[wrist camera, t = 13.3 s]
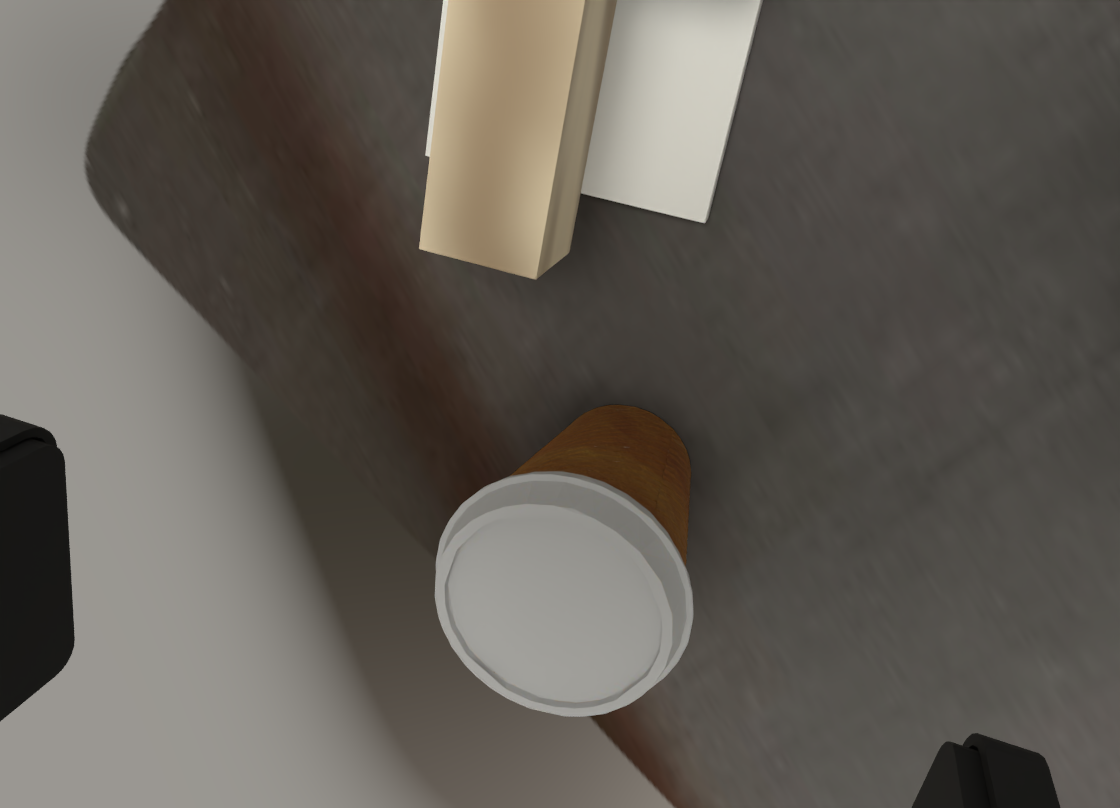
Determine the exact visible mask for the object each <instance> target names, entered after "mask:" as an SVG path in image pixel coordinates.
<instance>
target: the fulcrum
mask: <svg viewBox="0 0 1120 808" xmlns="http://www.w3.org/2000/svg"><path fill="white" fill-rule="evenodd" d="M762 2H763V0H617V4H616V9H615V14H614V20H613V25H612V30H611V35H610V41H609V46H608V51H607V57H606V62H605V67H604V72H603V78H602V83H601V88H600V93H599V99H598V104H597V109H596V115H595V120H594V125H593V130H592V136H591V141H590V146H589V151H588V157H587V162H586V167H585V173H584V178H583V183H582V188H581V193H582V194H586V195H590V196H594V197H598V198H602V199H606V200H611V201H615V202H619V203H623V204H627V205H631V206H635V207H639V208H644V209H648V210H652V211H656V212H660V213H664V214H668V215H672V216H677V217H681V218H685V219H689V220H693V221H697V222H701V223H705V222H706V221H707V219H708V217H709V213H710V209H711V205H712V201H713V197H714V193H715V189H716V185H717V181H718V177H719V173H720V169H721V165H722V161H723V157H724V153H725V149H726V145H727V141H728V137H729V133H730V129H731V125H732V121H733V117H734V113H735V109H736V105H737V101H738V97H739V93H740V89H741V85H742V81H743V77H744V73H745V69H746V65H747V61H748V57H749V53H750V49H751V46H752V42H753V38H754V34H755V30H756V26H757V22H758V18H759V14H760V10H761V6H762ZM447 7H448V0H443V8H442V17H441V26H440V34H439V43H438V51H437V60H436V69H435V77H434V86H433V95H432V103H431V112H430V120H429V129H428V138H427V146H426V155H425V156H429V157H430V151H431V143H432V134H433V126H434V118H435V109H436V101H437V92H438V84H439V75H440V67H441V58H442V50H443V41H444V33H445V24H446V16H447Z"/></svg>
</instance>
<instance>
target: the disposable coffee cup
mask: <svg viewBox="0 0 1120 808" xmlns="http://www.w3.org/2000/svg"><path fill="white" fill-rule="evenodd" d="M690 480H691V467H690V460H689V456H688V453H687V450H686V448H685V446H684V444H683V443H682V441H681V439H680V437H679V436H678V435H677V434H676V432H675V431H674V429H672V428H671V427H670V426H669V425H668V424H666V423H665V422H664V421H663V420H662V419H660V418H659V417H657V416H656V415H654V414H652V413H650V412H648V411H645V410H643V409H640V408H637V407H632V406H624V405H607V406H603V407H598V408H595V409H593V410H590V411H588V412H586V413H584V414H583V415H581V416H580V417H579V418H577V419H576V420H575V421H574V422H573V423H572V424H571V425H569V426H568V427H567V428H566V429H565V430H563V431H562V432H561V433H560V434H559V435H558V436H556V437H555V438H554V439H553V440H552V441H551V442H549V443H548V444H547V445H546V446H544V447H543V448H542V449H541V450H540V451H539V452H537V453H536V454H535V455H534V456H533V457H531V459H529V460H528V461H527V462H526V463H524V464H523V465H522V466H521V467H520V468H519V469H517V470H516V471H515V472H514V473H513V474H511V476H509V477H507V478H504V479H502V480H499V481H497V482H495V483H492V484H490V485H487V486H485V487H484V488H482V489H481V490H480V491H478V492H477V493H476V494H474V495H473V496H472V497H470V498H469V499H468V500H466V501H465V502H464V503H463V504H462V505H461V506H460V507H459V509H458V510H457V511H456V512H455V514H454V515H453V516H452V517H451V519H450V520H449V522H448V524H447V526H446V528H445V530H444V532H443V535H442V537H441V539H440V543H439V548H438V554H437V559H436V583H435V600H436V606H437V612H438V616H439V620H440V622H441V625H442V628H443V630H444V632H445V634H446V636H447V638H448V640H449V642H450V644H451V646H452V648H453V649H454V651H455V652H456V653H457V655H458V656H459V657H460V659H461V660H462V661H463V663H464V664H465V665H466V666H467V667H468V668H469V669H470V670H471V671H472V672H473V673H474V674H475V675H476V676H477V677H478V678H479V679H480V680H482V681H483V682H484V683H485V684H486V685H488V686H489V687H490V688H491V689H493V690H495V691H496V692H498V693H499V694H501V695H502V696H504V697H506V698H507V699H509V700H512V701H514V702H516V703H518V704H521V705H523V706H525V707H527V708H530V709H534V710H539V711H543V712H547V713H552V714H557V715H562V716H592V715H599V714H605V713H608V712H611V711H613V710H616V709H618V708H621V707H624V706H626V705H629V704H630V703H632V702H633V701H635V700H636V699H638V698H639V697H641V696H642V695H643V694H644V693H646V692H647V691H648V690H649V689H650V688H651V687H653V686H654V685H655V684H657V683H658V682H659V681H661V680H662V679H663V678H665V677H666V675H667V674H668V673H669V672H670V671H671V670H672V668H673V667H674V666H675V665H676V664H677V662H678V661H679V659H680V657H681V655H682V653H683V651H684V650H685V648H686V646H687V644H688V641H689V636H690V631H691V626H692V621H693V616H694V614H693V592H692V588H691V583H690V578H689V574H688V571H687V569H686V554H687V537H688V534H687V533H688V516H689V496H690Z"/></svg>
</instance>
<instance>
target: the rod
mask: <svg viewBox="0 0 1120 808" xmlns="http://www.w3.org/2000/svg"><path fill="white" fill-rule="evenodd" d="M616 4H617V0H448V7H447V16H446V24H445V33H444V41H443V50H442V58H441V67H440V75H439V84H438V92H437V101H436V109H435V118H434V126H433V134H432V143H431V151H430V160H429V168H428V177H427V185H426V194H425V202H424V211H423V219H422V228H421V236H420V245H419V249H421V250H425V251H429V252H433V253H437V254H440V255H444V256H448V257H452V258H456V259H459V260H463V261H467V262H471V263H475V264H478V265H482V266H486V267H490V268H494V269H497V270H501V271H505V272H509V273H513V274H516V275H520V276H524V277H528V278H532V279H537V278H539V277H540V276H541V275H542V274H543V273H545V272H546V271H547V270H548V269H550V268H551V267H552V266H553V265H555V264H556V263H557V262H558V261H560V260H561V259H562V258H563V257H564V256H566V255H567V254H568V253H569V252H570V246H571V241H572V236H573V231H574V225H575V220H576V215H577V210H578V204H579V199H580V194H581V188H582V183H583V178H584V173H585V167H586V162H587V157H588V151H589V146H590V141H591V136H592V130H593V125H594V120H595V115H596V109H597V104H598V99H599V93H600V88H601V83H602V78H603V72H604V67H605V62H606V57H607V51H608V46H609V41H610V35H611V30H612V25H613V20H614V14H615V9H616Z"/></svg>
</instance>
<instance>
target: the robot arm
mask: <svg viewBox="0 0 1120 808" xmlns="http://www.w3.org/2000/svg"><path fill="white" fill-rule="evenodd" d="M72 603H73V602H72V585H71V566H70V548H69V530H68V512H67V493H66V476H65V460H64V456H63V453H62V452H61V450H60V449H59V448H57V445H56V440H55V438H54V437H53V435H52V434H51V433H50V432H49V431H48V430H46V429H44V428H42V427H38V426H36V425H33V424H29V423H26V422H23V421H20V420H17V419H14V418H11V417H8V416H5V415H0V721H1V720H2V719H4V718H5V717H6V716H7V715H9V714H10V713H11V712H12V711H13V710H15V709H16V708H17V707H18V706H20V705H21V704H22V703H23V702H24V701H26V700H27V699H28V698H29V697H31V696H32V695H33V694H34V693H35V692H37V691H38V690H39V689H40V688H41V687H43V686H44V685H45V684H46V683H47V682H49V681H50V680H51V679H52V678H54V677H55V676H56V675H57V674H58V673H59V672H60V671H61V670H62V669H63V668H64V666H65V665H66V663H67V662H68V660H69V658H70V656H71V654H72V650H73V648H74V621H73V604H72ZM912 808H1060V805H1059V801H1058V798H1057V794H1056V791H1055V788H1054V784H1053V781H1052V777H1051V774H1050V770H1049V767H1048V765H1047V762H1046V760H1045V758H1044V757H1043V756H1041V755H1040V754H1039V753H1036V752H1033V751H1030V750H1027V749H1024V748H1021V747H1018V746H1014V745H1011V744H1008V743H1005V742H1002V741H999V740H996V739H993V738H990V737H987V736H984V735H981V734H978V733H976V734H971V735H970V736H969V737H968V738H967V739H966V741H965V742H964V744H963V746H962V745H959V744H956V743H953V742H945V743H944V744H943V745H942V746H941V748H940V750H939V752H938V753H937V756H936V758H935V760H934V762H933V764H932V766H931V768H930V770H929V772H928V774H927V776H926V779H925V781H924V783H923V785H922V787H921V789H920V791H919V793H918V795H917V797H916V800H915V802H914V804H913V806H912Z"/></svg>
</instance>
